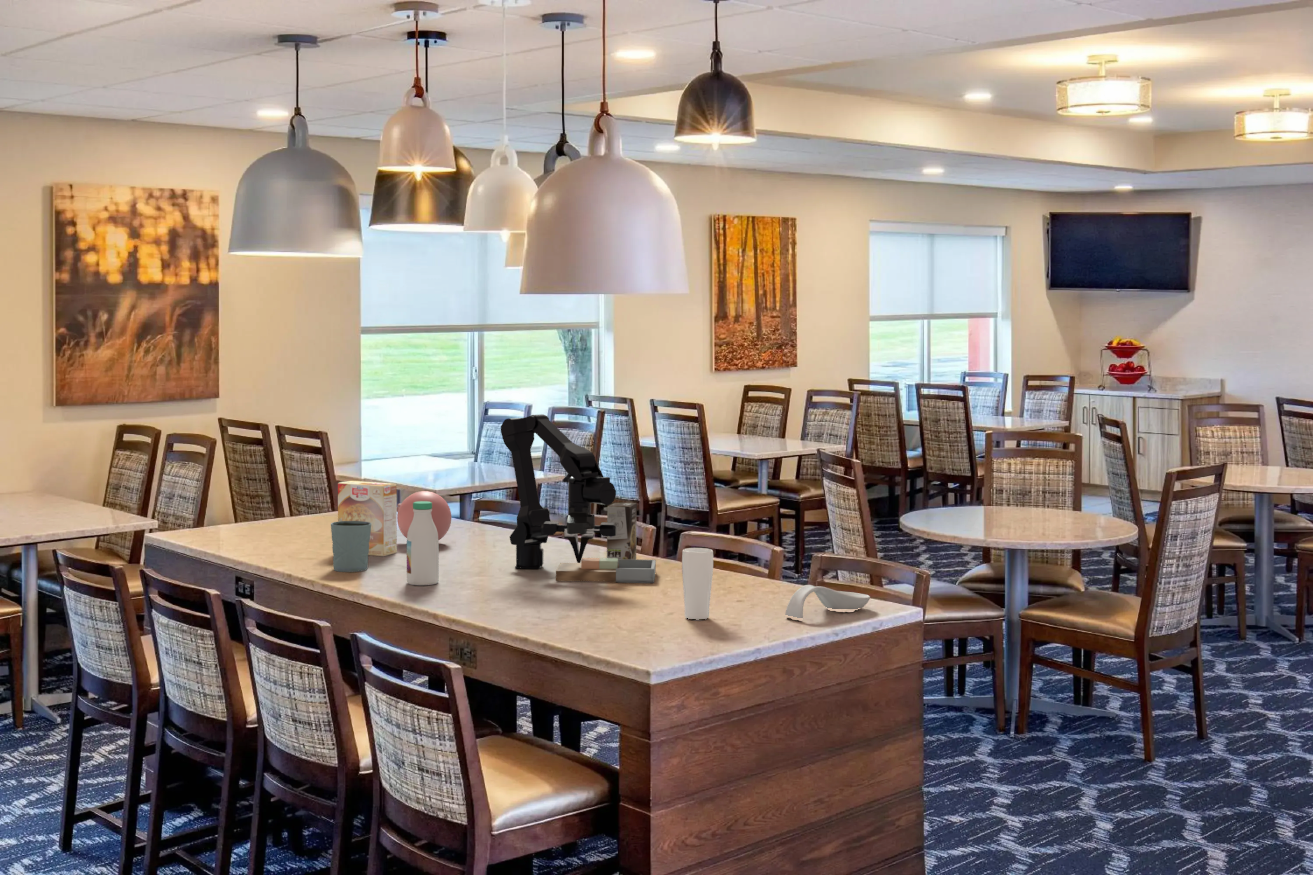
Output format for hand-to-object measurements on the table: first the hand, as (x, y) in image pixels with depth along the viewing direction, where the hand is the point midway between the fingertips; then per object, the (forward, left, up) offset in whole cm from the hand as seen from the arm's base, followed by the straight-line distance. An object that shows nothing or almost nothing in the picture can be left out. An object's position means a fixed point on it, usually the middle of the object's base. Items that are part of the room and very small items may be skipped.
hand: (578, 562), depth 352 cm
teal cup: (-59, +6, -4) cm, 60 cm away
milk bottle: (-37, -12, -4) cm, 39 cm away
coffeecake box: (-61, +32, -4) cm, 69 cm away
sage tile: (+8, 0, -1) cm, 8 cm away
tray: (+14, 0, -4) cm, 15 cm away
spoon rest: (+59, -40, -4) cm, 71 cm away
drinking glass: (+30, -48, -4) cm, 57 cm away
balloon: (-50, +50, -4) cm, 71 cm away
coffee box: (+10, +20, -4) cm, 23 cm away
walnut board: (+2, 0, -4) cm, 4 cm away
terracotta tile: (+3, 0, -1) cm, 3 cm away
